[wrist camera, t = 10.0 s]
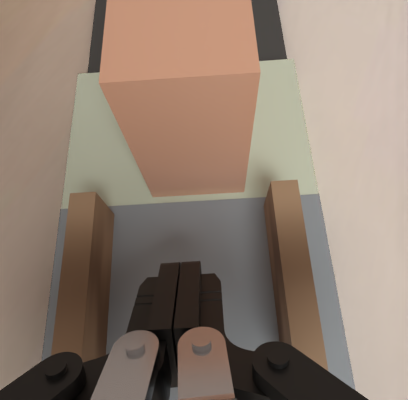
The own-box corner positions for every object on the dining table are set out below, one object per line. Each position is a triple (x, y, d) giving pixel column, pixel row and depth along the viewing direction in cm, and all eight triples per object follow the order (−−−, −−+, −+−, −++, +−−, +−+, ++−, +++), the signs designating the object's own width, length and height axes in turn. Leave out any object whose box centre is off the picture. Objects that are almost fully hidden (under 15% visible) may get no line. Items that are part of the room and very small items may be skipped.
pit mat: (287, 74, 24) (288, 69, 24) (89, 88, 25) (86, 83, 24) (272, -14, 28) (273, -20, 27) (98, -1, 28) (96, -7, 28)
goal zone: (310, 207, 20) (318, 194, 19) (75, 221, 21) (60, 209, 19) (288, 80, 24) (293, 58, 22) (88, 93, 25) (78, 73, 23)
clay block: (244, 192, 19) (260, 72, 11) (152, 197, 19) (98, 83, 11) (232, 64, 22) (238, -101, 14) (155, 69, 23) (115, -91, 14)
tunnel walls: (310, 372, 15) (329, 377, 13) (77, 382, 16) (46, 390, 13) (286, 204, 18) (297, 179, 16) (92, 215, 19) (69, 193, 16)
